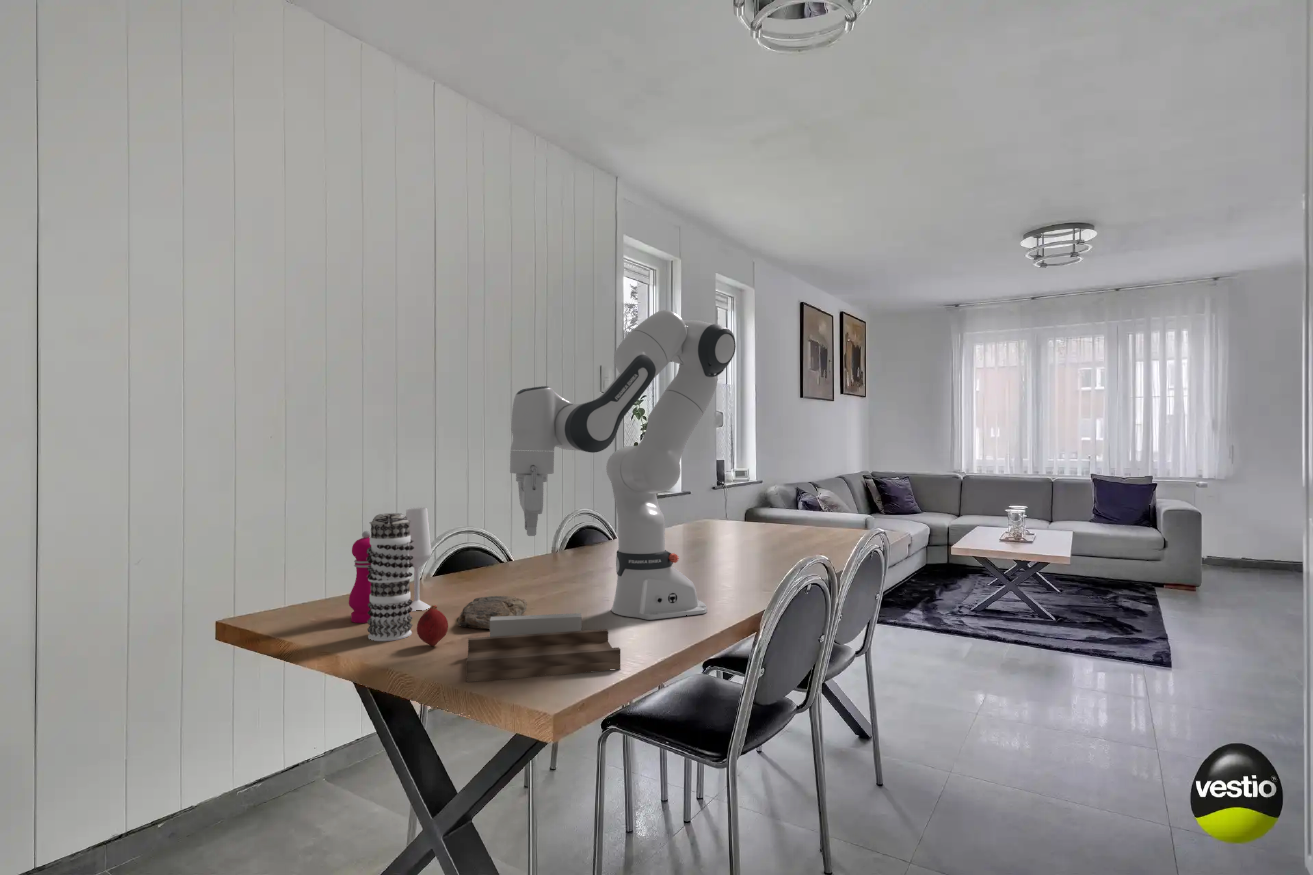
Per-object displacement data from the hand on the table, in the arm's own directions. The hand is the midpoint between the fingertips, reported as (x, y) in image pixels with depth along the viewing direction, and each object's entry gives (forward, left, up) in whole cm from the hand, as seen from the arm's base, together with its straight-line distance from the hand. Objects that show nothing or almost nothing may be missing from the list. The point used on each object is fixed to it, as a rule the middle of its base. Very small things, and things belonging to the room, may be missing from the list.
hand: (530, 532), depth 142 cm
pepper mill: (+35, -24, -22) cm, 47 cm away
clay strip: (-1, +2, -22) cm, 22 cm away
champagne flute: (+25, -33, -22) cm, 46 cm away
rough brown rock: (+8, -17, -22) cm, 29 cm away
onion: (+19, +1, -22) cm, 29 cm away
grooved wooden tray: (-1, +17, -21) cm, 27 cm away
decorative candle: (+28, -9, -22) cm, 36 cm away
